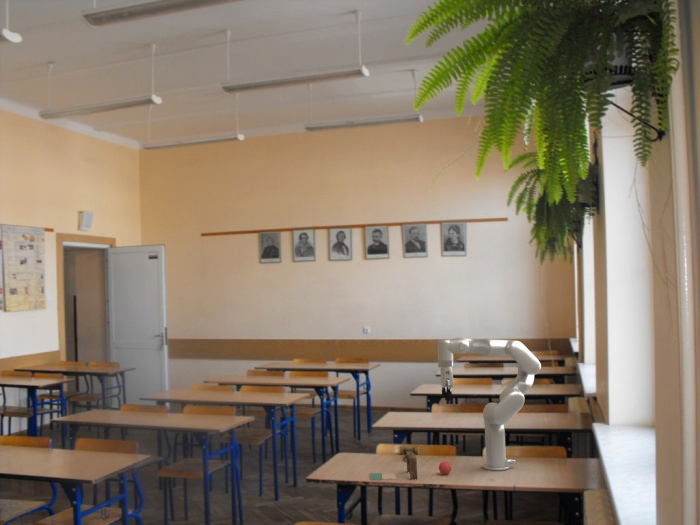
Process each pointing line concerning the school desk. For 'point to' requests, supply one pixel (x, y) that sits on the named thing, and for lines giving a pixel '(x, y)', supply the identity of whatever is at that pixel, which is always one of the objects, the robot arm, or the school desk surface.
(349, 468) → the school desk surface
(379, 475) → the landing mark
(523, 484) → the school desk surface
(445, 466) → the ball
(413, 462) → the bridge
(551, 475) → the school desk surface
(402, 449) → the gavel
